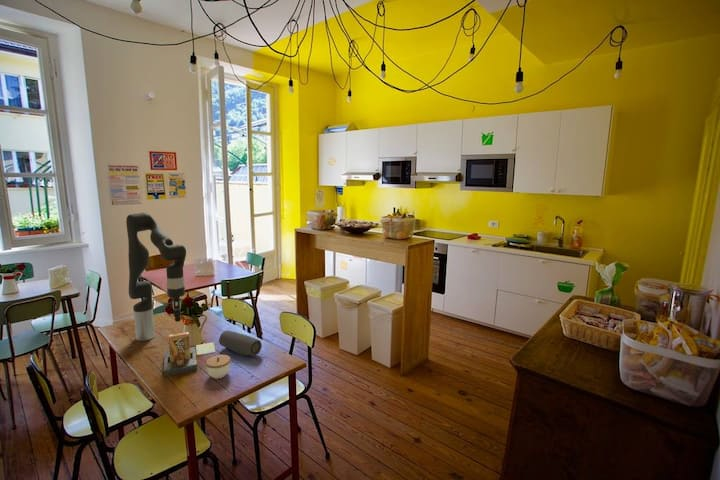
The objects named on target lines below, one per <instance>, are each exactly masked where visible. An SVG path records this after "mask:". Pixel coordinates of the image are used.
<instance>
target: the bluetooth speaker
mask: <svg viewBox="0 0 720 480" xmlns="http://www.w3.org/2000/svg"><path fill="white" fill-rule="evenodd" d="M218 344H219V345H220V346H221V347H224V348H226V349H228V350H231V351H232V352H233V353H236V354H238V353H239V355H242V356H250V357H256V356H257V355H259V354H260V352H261V351H262V346H263V345H262V341H261V340H260V339H258V338H255V337H252V336H250V335H247V334H243V333H241V332H240V333H239V332H236V331H231V330H224V331H222V332H221V334H220V336H219V339H218Z"/></svg>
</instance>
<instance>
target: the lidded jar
mask: <svg viewBox="0 0 720 480" xmlns="http://www.w3.org/2000/svg"><path fill="white" fill-rule="evenodd" d="M205 368H206V372H207V374H208V375H209V376H210V377H211V378H212V379H215V380H218V379H219V378H220V379H222V377H223V378H224V377H226V375H228V373H229V371H230V369H231V357H230V356H229V355H226V354H217V355H214V356H210V357H209V358H208V359H207V360H206V361H205Z"/></svg>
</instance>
